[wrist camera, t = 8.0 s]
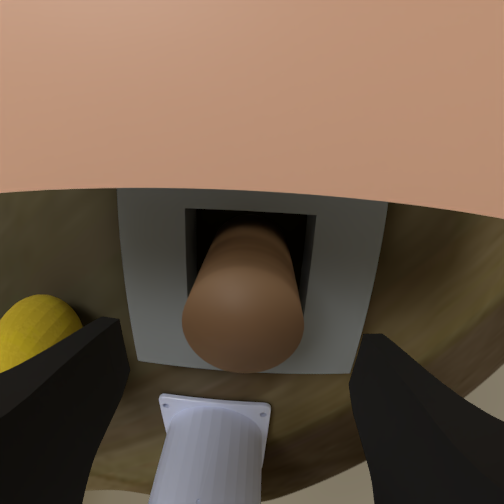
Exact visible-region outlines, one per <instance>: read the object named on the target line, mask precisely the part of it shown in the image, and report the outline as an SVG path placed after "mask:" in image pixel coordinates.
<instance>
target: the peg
mask: <svg viewBox="0 0 504 504" xmlns="http://www.w3.org/2000/svg"><path fill="white" fill-rule="evenodd" d="M182 328H183V333H184V336H185V338H186V340H187V342H188V344H189V346H190V347H191V348H192V350H193V351H194V352H195V353H196V354H197V355H198V356H199V357H200V358H201V359H203V360H204V361H206V362H207V363H209V364H210V365H212V366H214V367H217V368H219V369H222V370H225V371H229V372H234V373H257V372H262V371H265V370H268V369H271V368H274V367H276V366H278V365H279V364H281V363H283V362H284V361H285V360H287V359H288V358H289V357H290V356H291V355H292V354H293V353H294V352H295V350H296V349H297V347H298V346H299V344H300V342H301V339H302V336H303V332H304V318H303V313H302V308H301V303H300V298H299V293H298V288H297V284H296V279H295V274H294V270H293V265H292V260H291V256H290V251H289V247H288V242H287V239H286V237H285V235H284V233H283V231H282V230H281V229H280V227H279V226H278V225H277V224H275V223H274V222H273V221H271V220H270V219H268V218H266V217H263V216H259V215H253V214H246V215H240V216H237V217H234V218H232V219H230V220H228V221H227V222H226V223H224V224H223V225H222V226H221V227H220V228H219V230H218V231H217V233H216V235H215V237H214V239H213V241H212V244H211V246H210V248H209V250H208V253H207V255H206V257H205V259H204V262H203V264H202V266H201V269H200V271H199V273H198V276H197V278H196V280H195V282H194V285H193V287H192V289H191V292H190V294H189V297H188V299H187V301H186V304H185V306H184V309H183V313H182Z"/></svg>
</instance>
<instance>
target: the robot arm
mask: <svg viewBox="0 0 504 504" xmlns="http://www.w3.org/2000/svg"><path fill="white" fill-rule="evenodd" d="M129 372H130V368H129V363H128V359H127V354H126V350H125V345H124V340H123V335H122V330H121V325H120V320H119V319H115V318H108V317H100V318H98V319H96V320H94V321H93V322H91V323H89V324H87V325H86V326H84V327H82V328H81V329H79V330H77V331H76V332H74V333H73V334H71V335H69V336H68V337H66V338H64V339H63V340H61V341H59V342H58V343H56V344H54V345H53V346H51V347H50V348H48V349H46V350H44V351H42V352H41V353H39V354H37V355H35V356H33V357H32V358H30V359H28V360H26V361H25V362H23V363H21V364H19V365H17V366H15V367H13V368H11V369H8V370H6V371H4V372H2V373H0V504H82V502H83V497H84V493H85V489H86V484H87V481H88V477H89V473H90V470H91V466H92V463H93V460H94V457H95V455H96V452H97V450H98V448H99V445H100V443H101V441H102V439H103V437H104V434H105V432H106V430H107V428H108V426H109V424H110V421H111V419H112V417H113V415H114V413H115V411H116V408H117V406H118V404H119V402H120V400H121V398H122V395H123V392H124V389H125V386H126V382H127V379H128V375H129ZM349 390H350V397H351V403H352V410H353V414H354V418H355V421H356V425H357V428H358V432H359V435H360V439H361V442H362V446H363V449H364V453H365V456H366V460H367V463H368V467H369V471H370V476H371V480H372V486H373V494H374V503H375V504H504V422H503V421H501V420H499V419H497V418H495V417H493V416H491V415H490V414H488V413H486V412H484V411H483V410H481V409H480V408H478V407H476V406H475V405H473V404H471V403H470V402H468V401H467V400H465V399H464V398H462V397H461V396H459V395H458V394H456V393H455V392H454V391H452V390H451V389H450V388H448V387H447V386H446V385H444V384H443V383H442V382H440V381H439V380H438V379H437V378H435V377H434V376H433V375H432V374H430V373H429V372H428V371H427V370H426V369H424V368H423V367H422V366H421V365H420V364H418V363H417V362H416V361H415V360H414V359H413V358H411V357H410V356H409V355H408V354H407V353H406V352H404V351H403V350H402V349H401V348H400V347H398V346H397V345H396V344H395V343H394V342H392V341H391V340H390V339H389V338H387V337H386V336H385V335H383V334H363V338H362V342H361V345H360V349H359V352H358V356H357V359H356V362H355V366H354V369H353V372H352V375H351V379H350V382H349ZM159 403H160V408H161V412H162V417H163V421H164V425H165V429H166V433H167V435H166V439H165V442H164V446H163V450H162V453H161V457H160V461H159V464H158V468H157V472H156V475H155V479H154V483H153V487H152V491H151V494H150V499H149V503H148V504H261V468H262V466H263V460H264V453H265V447H266V440H267V434H268V427H269V420H270V413H271V406H270V404H268V403H264V402H244V401H229V400H217V399H206V398H197V397H188V396H180V395H172V394H161V395H160V397H159Z"/></svg>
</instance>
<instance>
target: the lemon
mask: <svg viewBox="0 0 504 504" xmlns="http://www.w3.org/2000/svg"><path fill="white" fill-rule="evenodd" d="M82 327H83V326H82V323H81V321H80V319H79V317H78V316H77V314H76V312H75V311H74V310H73V309H72V308H71V307H70V306H69V305H68V304H67V303H66V302H64V301H62V300H61V299H59V298H57V297H54V296H50V295H33V296H30V297H27V298H25V299H23V300H21V301H19V302H17V303H16V304H15V305H13V306H12V307H11V308H10V309H9V310H8V311H7V313H6V314H5V315H4V316H3V317H2V319H1V320H0V373H2V372H4V371H6V370H8V369H11V368H13V367H15V366H17V365H19V364H21V363H23V362H25V361H26V360H28V359H30V358H32V357H33V356H35V355H37V354H39V353H41V352H42V351H44V350H46V349H48V348H50V347H51V346H53V345H54V344H56V343H58V342H59V341H61V340H63V339H64V338H66V337H68V336H69V335H71V334H73V333H74V332H76V331H77V330H79V329H81V328H82Z"/></svg>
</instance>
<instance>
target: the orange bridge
mask: <svg viewBox="0 0 504 504" xmlns="http://www.w3.org/2000/svg"><path fill="white" fill-rule="evenodd" d="M86 188H195V189H225V190H248V191H266V192H283V193H297V194H311V195H323V196H335V197H346V198H356V199H366V200H376V201H385V202H393V203H402V204H410V205H418V206H425V207H433V208H440V209H447V210H454V211H460V212H467V213H473V214H479V215H485V216H491V217H497V218H502V219H504V0H0V193H5V192H19V191H36V190H57V189H86Z"/></svg>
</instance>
